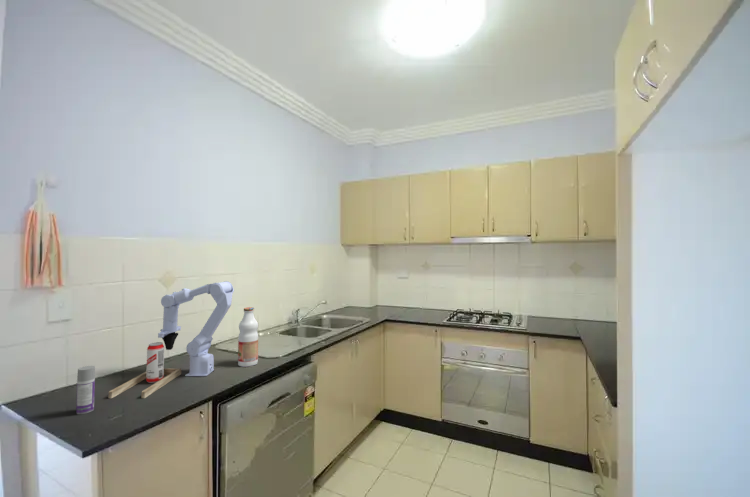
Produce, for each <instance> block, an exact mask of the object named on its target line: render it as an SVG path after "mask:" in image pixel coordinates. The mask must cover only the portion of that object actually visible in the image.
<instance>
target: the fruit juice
mask: <svg viewBox="0 0 750 497" xmlns="http://www.w3.org/2000/svg"><path fill="white" fill-rule="evenodd" d="M254 312H255V308H254V307H250V306H249V307H244V308H243V313H244V314H243V317H242V319H241V321H240V322H239V324H238V329H239V333H238V337H237V338H238V339H237V341H238V342H237V343H238V344H237V365H238V366H239V367H244V368H247V367H253V366H255V365H257V364H258V363H259V361H258V360H259V332H258V330H259V322H258V321H257V319H256V318H255V314H254Z"/></svg>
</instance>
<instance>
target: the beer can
mask: <svg viewBox="0 0 750 497" xmlns="http://www.w3.org/2000/svg"><path fill="white" fill-rule="evenodd" d="M164 363H165V344H164V342H161V341H159V342H158V341H157V342H151V343H148V345H147V349H146V371H147V372H146V371H145V372H146V379H145V380H146V382H147V383H148V384H155V383H156V382H158V381H160V380H161V379H163V378H164V377H165V375H164V369H165V368H164V367H165V364H164Z"/></svg>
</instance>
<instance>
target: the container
mask: <svg viewBox="0 0 750 497" xmlns="http://www.w3.org/2000/svg"><path fill="white" fill-rule="evenodd" d="M95 369H96V368H95V365H86V366H85V365H84V366H82V367H79V368H77V375H76V376H77V377H76V378H77V380H76V405H75V406H76V408H75V409H76V411H75V412H76V415H85V414H88V413H91V412H93V411H94V410H95V390H96V388H95V384H96V370H95Z"/></svg>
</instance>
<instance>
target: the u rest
mask: <svg viewBox="0 0 750 497" xmlns="http://www.w3.org/2000/svg"><path fill="white" fill-rule="evenodd" d="M146 372H147V370H146V371H144V372H143V373H141V374H138V375H137V376H135V377H133V378H131V379H129V380H128V381H126V382H124V383H122V384H121V385H119V386H117V387H115V388H113V389H110V390H109V391H108V399H113V398H115V397H117V396H118V395H120V394H122V393H124V392H125V391H127V390H129V389H131V388H132V387H134V386H136V385H138V384H139V383H141V382H143V381H145V380H146ZM180 375H182V368H164V378H163V379H161V380H160V381H158V382H156V383H152V385H150V386H148V387H147V388H145V389H143V390H142V391H141V396H140V397H141V399H146V398H147V397H149V396H150V395H152V394H154V393H155V392H156V391H158V390H159V389H161V388H162V387H164V386H165V385H167V384H168V383H170V382H172V381H173V380H174V379H176V378H178V377H179V376H180Z"/></svg>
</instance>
